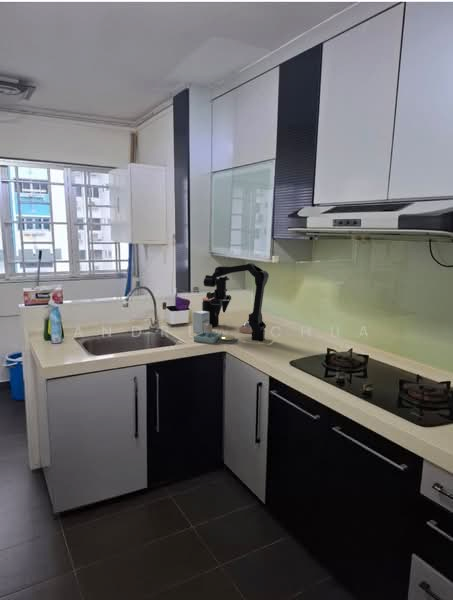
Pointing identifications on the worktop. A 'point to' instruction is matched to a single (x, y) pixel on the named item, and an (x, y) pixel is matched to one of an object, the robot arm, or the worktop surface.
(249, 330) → the pink open-ended box
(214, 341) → the teal shallow square tray
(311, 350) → the worktop surface
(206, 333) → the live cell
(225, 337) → the brass disc
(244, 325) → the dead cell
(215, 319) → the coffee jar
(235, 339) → the checker cradle
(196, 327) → the supplement box
